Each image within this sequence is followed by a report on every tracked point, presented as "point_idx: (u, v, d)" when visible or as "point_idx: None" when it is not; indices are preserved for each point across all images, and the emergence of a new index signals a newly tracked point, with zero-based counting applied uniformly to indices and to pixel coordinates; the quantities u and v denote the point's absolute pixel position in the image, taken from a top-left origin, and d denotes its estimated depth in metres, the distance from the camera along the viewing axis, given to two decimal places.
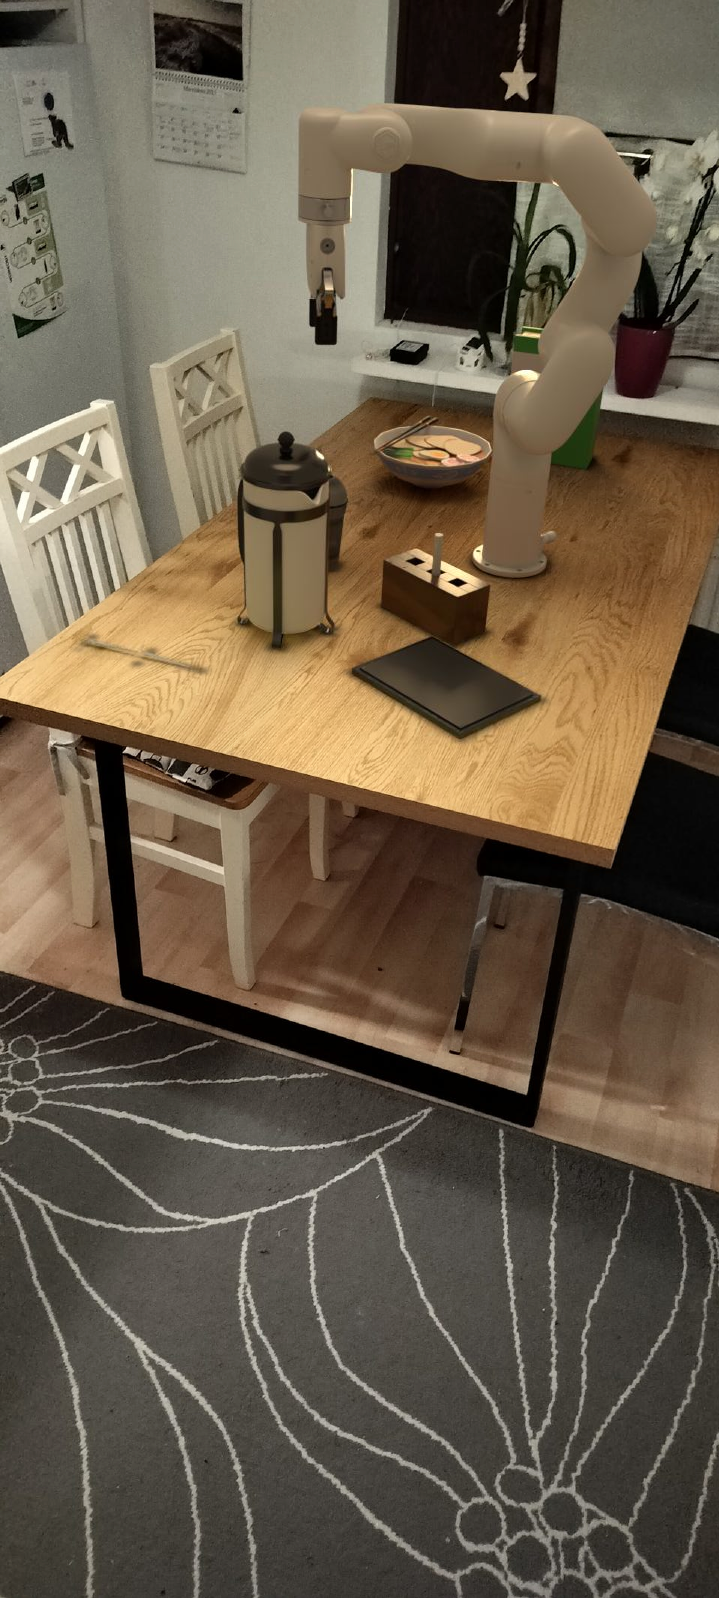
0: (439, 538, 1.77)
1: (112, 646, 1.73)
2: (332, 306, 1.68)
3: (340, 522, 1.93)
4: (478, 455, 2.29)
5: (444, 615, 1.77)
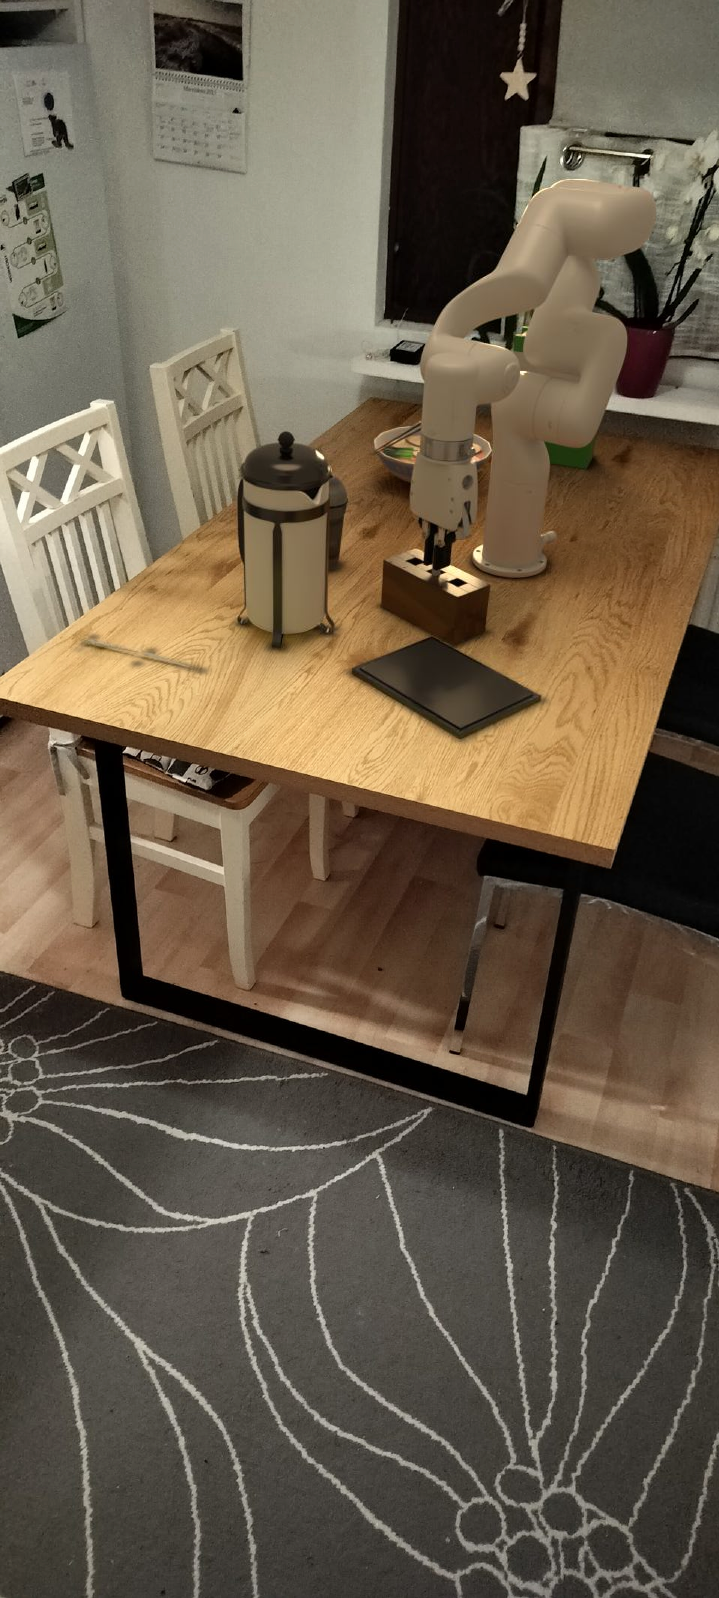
0: None
1: (112, 646, 1.73)
2: None
3: (340, 522, 1.93)
4: (478, 455, 2.29)
5: (444, 615, 1.77)
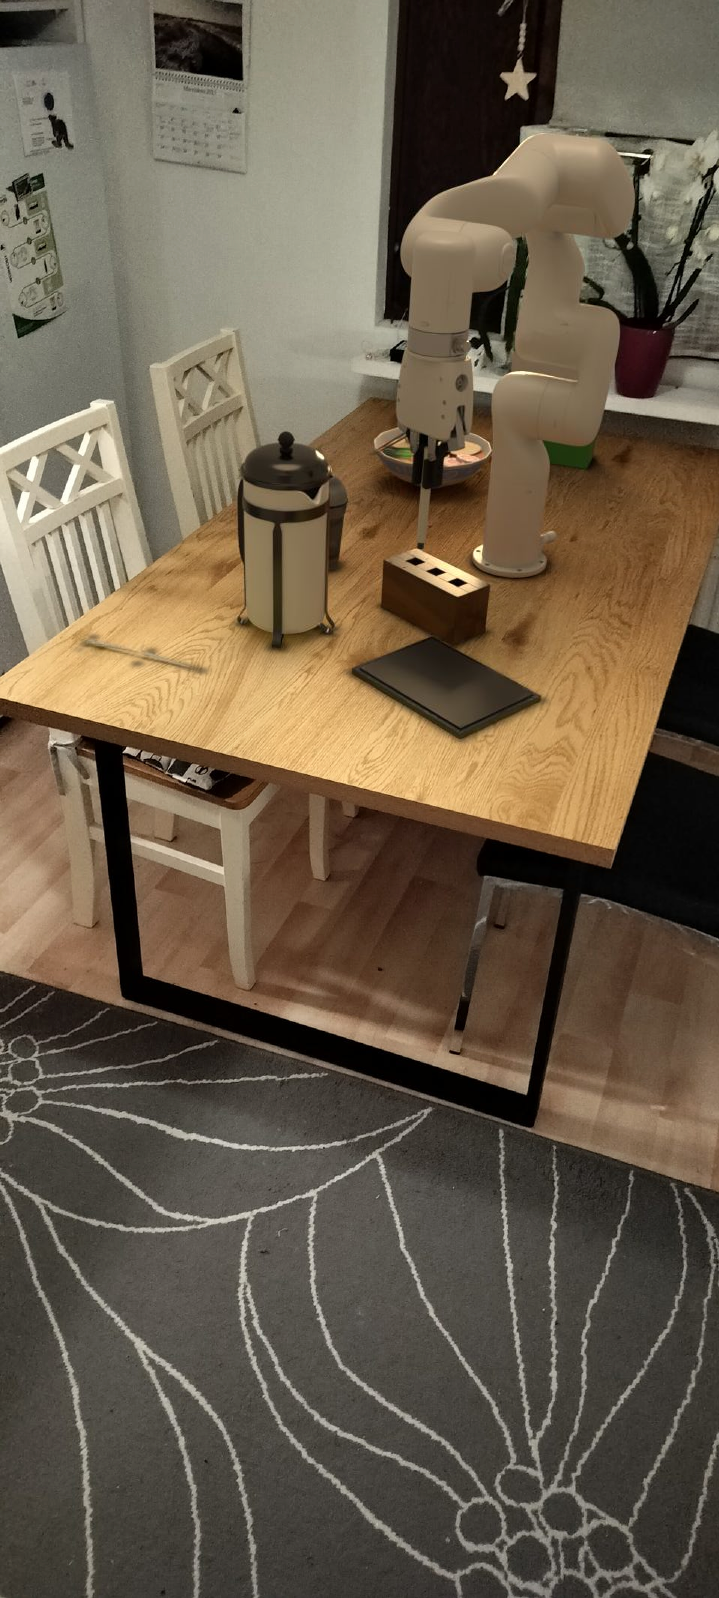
0: None
1: (112, 646, 1.73)
2: None
3: (340, 522, 1.93)
4: (478, 455, 2.29)
5: (444, 615, 1.77)
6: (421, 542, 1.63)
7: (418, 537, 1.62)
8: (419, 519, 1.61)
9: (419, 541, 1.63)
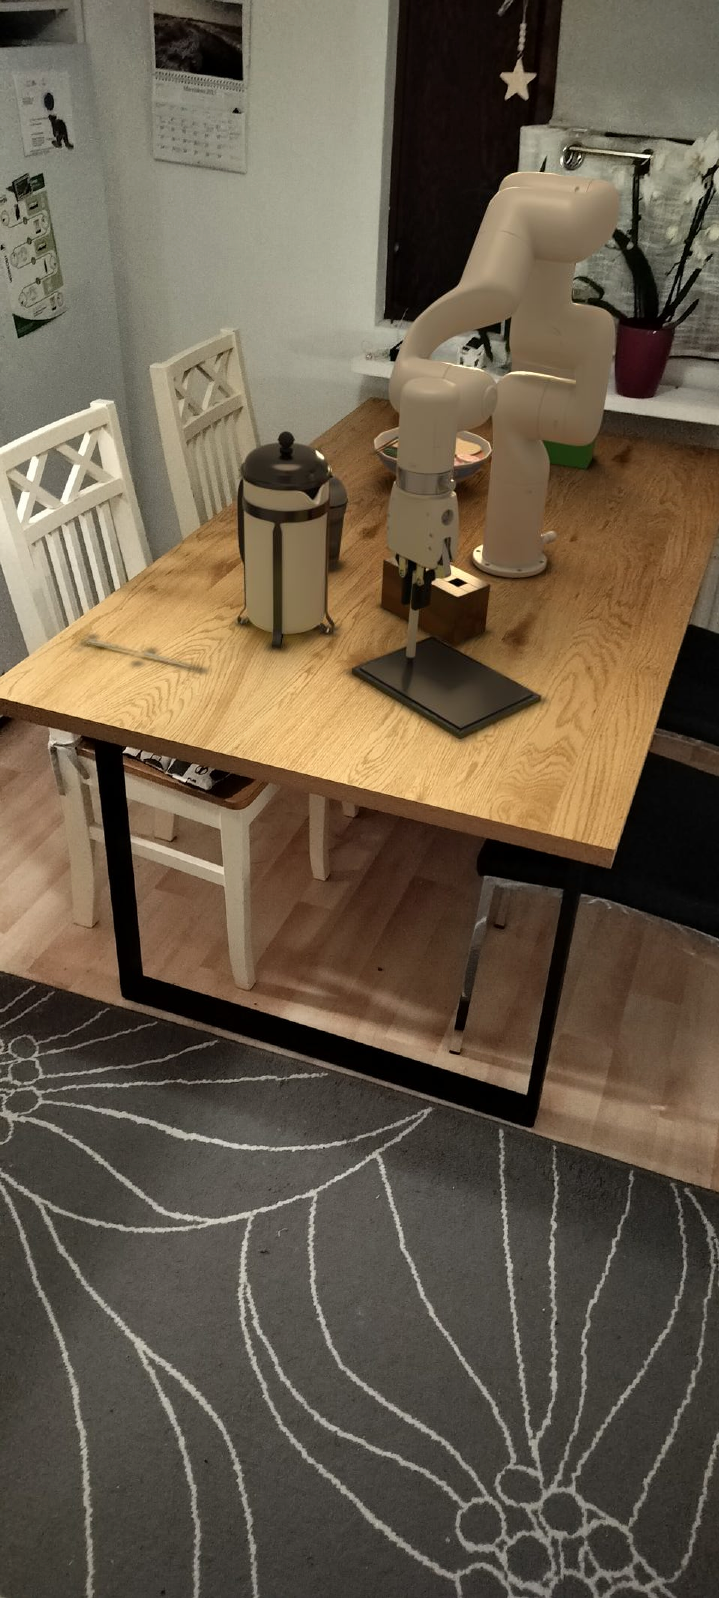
0: None
1: (112, 646, 1.73)
2: None
3: (340, 522, 1.93)
4: (478, 455, 2.29)
5: (444, 615, 1.77)
6: (411, 657, 1.71)
7: (408, 652, 1.70)
8: (408, 636, 1.69)
9: (409, 656, 1.71)
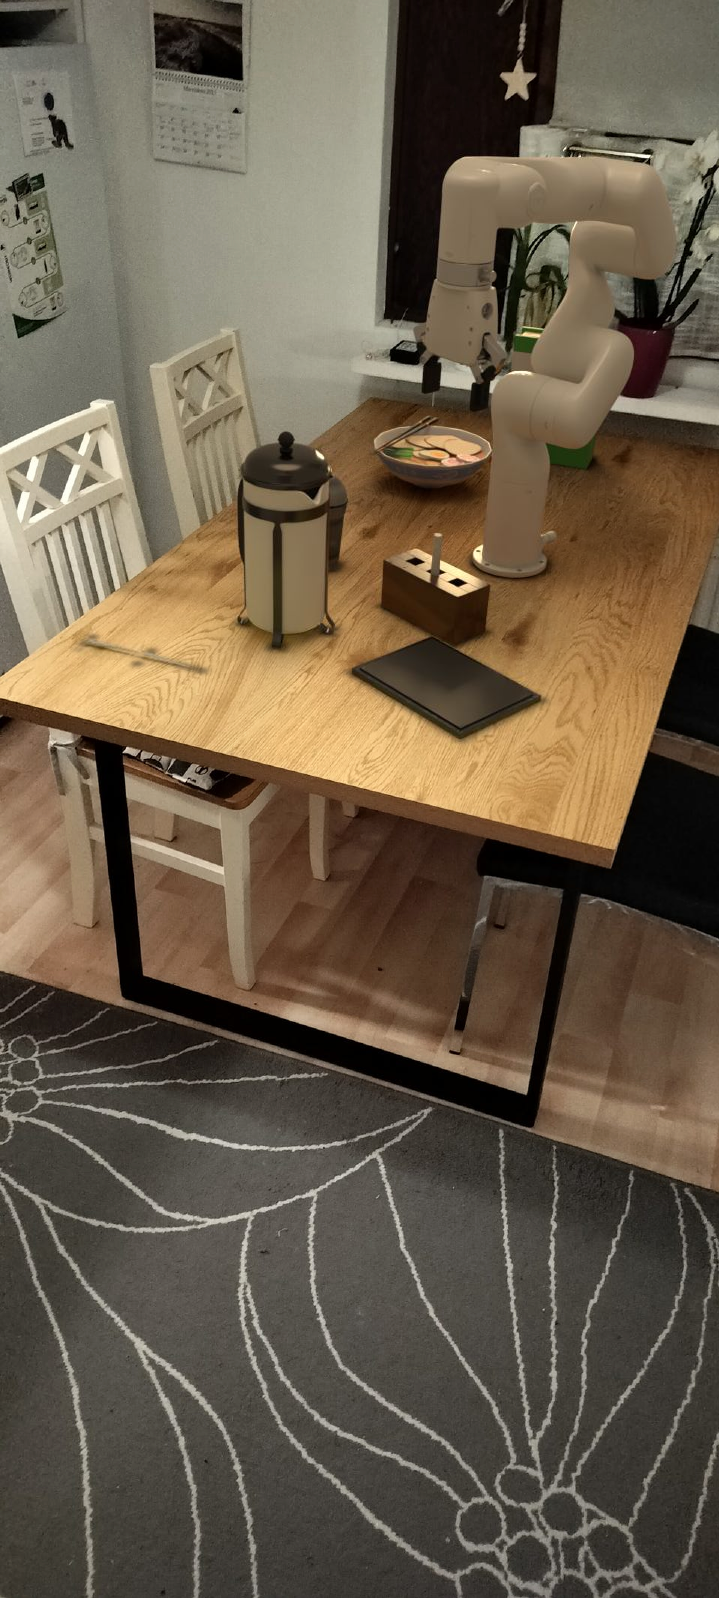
0: (438, 538, 1.76)
1: (112, 646, 1.73)
2: (500, 371, 1.62)
3: (340, 522, 1.93)
4: (478, 455, 2.29)
5: (444, 615, 1.77)
6: None
7: None
8: None
9: None
